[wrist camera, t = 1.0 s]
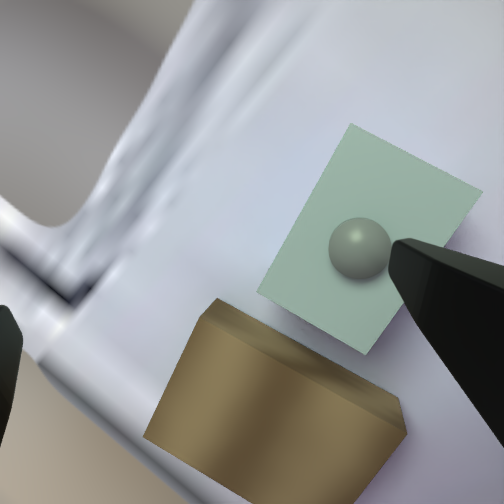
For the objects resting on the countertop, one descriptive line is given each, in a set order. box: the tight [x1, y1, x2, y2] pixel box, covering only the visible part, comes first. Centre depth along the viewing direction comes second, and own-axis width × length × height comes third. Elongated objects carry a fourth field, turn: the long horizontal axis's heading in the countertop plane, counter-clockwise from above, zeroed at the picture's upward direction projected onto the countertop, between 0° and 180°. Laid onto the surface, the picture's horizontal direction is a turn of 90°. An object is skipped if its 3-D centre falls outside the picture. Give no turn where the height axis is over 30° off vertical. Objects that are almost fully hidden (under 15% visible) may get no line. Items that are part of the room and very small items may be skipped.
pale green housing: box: [256, 123, 483, 355], centre depth 17 cm, size 6×8×6 cm
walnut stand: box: [143, 298, 407, 504], centre depth 22 cm, size 12×9×3 cm
